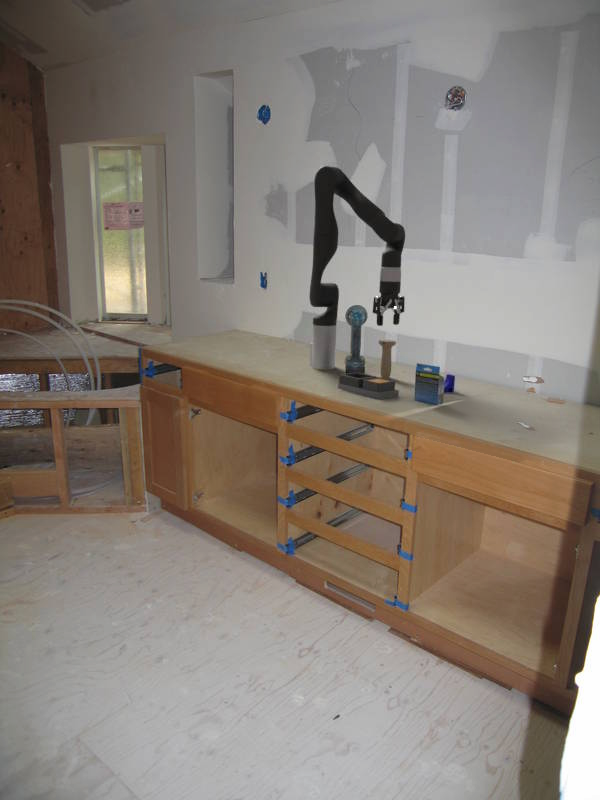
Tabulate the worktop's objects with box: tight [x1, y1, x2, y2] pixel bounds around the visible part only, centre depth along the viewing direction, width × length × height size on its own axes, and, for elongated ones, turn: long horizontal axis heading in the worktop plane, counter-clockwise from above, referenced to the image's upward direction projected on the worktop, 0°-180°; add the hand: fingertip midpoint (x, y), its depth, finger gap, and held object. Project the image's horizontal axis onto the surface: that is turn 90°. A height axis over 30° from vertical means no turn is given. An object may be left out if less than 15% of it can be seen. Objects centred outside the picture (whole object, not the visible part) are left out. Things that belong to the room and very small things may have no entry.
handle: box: [378, 339, 397, 380], centre depth 237 cm, size 5×6×15 cm
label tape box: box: [413, 362, 445, 405], centre depth 205 cm, size 9×4×12 cm, turn 48°
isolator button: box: [368, 379, 389, 383], centre depth 213 cm, size 6×6×2 cm
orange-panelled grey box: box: [337, 371, 400, 400], centre depth 217 cm, size 20×9×5 cm, turn 40°
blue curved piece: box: [444, 373, 456, 394], centre depth 220 cm, size 12×4×6 cm, turn 109°
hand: (388, 325), depth 234 cm, fingers open, 8 cm apart
